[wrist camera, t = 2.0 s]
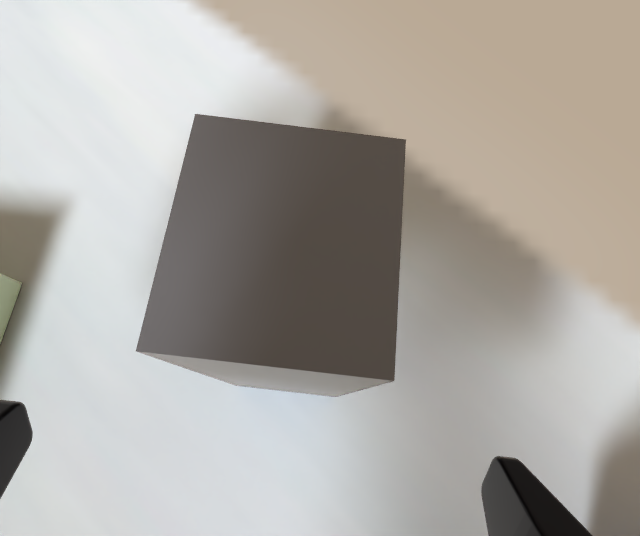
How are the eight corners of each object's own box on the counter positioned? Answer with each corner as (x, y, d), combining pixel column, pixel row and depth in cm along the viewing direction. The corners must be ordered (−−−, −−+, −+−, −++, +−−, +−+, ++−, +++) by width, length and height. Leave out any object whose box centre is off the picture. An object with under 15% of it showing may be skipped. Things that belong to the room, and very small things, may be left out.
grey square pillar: (335, 396, 19) (394, 380, 7) (235, 385, 18) (135, 351, 7) (345, 284, 20) (406, 127, 9) (254, 273, 20) (198, 102, 9)
